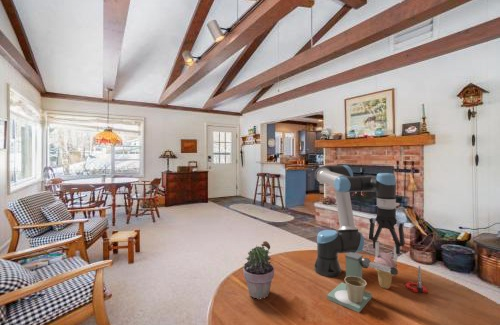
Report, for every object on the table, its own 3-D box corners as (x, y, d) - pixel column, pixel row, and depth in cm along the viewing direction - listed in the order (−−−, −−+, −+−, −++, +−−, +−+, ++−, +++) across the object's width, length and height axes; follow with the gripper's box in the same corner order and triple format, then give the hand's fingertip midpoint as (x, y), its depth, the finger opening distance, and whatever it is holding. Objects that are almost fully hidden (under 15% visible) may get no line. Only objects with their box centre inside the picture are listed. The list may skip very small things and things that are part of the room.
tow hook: (402, 283, 129) (411, 292, 120) (402, 259, 130) (411, 266, 121) (419, 285, 128) (430, 293, 119) (419, 260, 128) (429, 267, 119)
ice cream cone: (387, 294, 119) (387, 254, 118) (368, 284, 129) (368, 246, 128) (401, 288, 124) (401, 250, 123) (382, 279, 133) (382, 243, 133)
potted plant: (233, 302, 114) (232, 250, 114) (248, 282, 132) (247, 237, 132) (270, 310, 108) (269, 255, 107) (280, 287, 126) (279, 240, 126)
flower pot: (365, 295, 115) (365, 277, 114) (367, 307, 106) (367, 287, 106) (344, 292, 118) (344, 274, 118) (344, 303, 109) (344, 284, 109)
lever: (359, 266, 116) (359, 258, 116) (362, 264, 118) (362, 256, 118) (396, 278, 105) (396, 268, 105) (398, 275, 107) (398, 266, 107)
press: (326, 299, 115) (326, 259, 115) (341, 285, 127) (341, 249, 127) (358, 313, 105) (358, 269, 104) (372, 297, 117) (372, 257, 116)
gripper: (360, 205, 113) (360, 254, 114) (409, 212, 99) (409, 267, 100) (366, 203, 118) (366, 250, 119) (413, 209, 105) (413, 261, 105)
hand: (386, 257), depth 109 cm, fingers open, 7 cm apart
